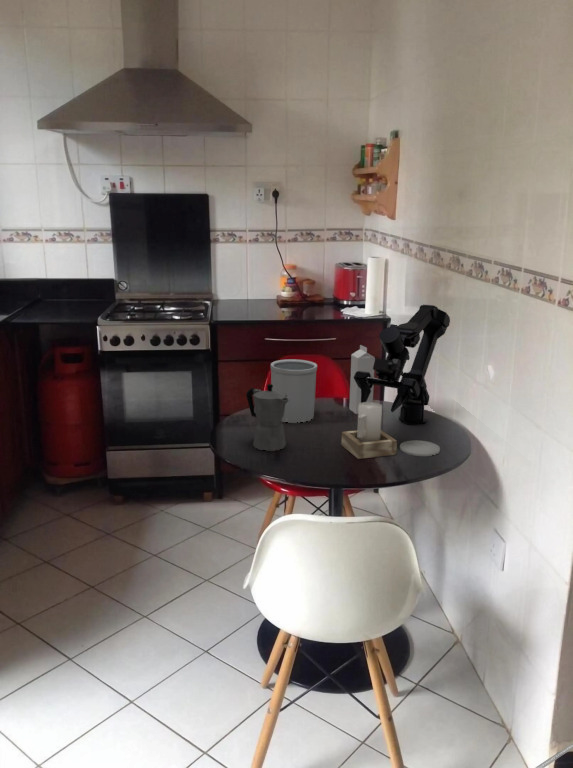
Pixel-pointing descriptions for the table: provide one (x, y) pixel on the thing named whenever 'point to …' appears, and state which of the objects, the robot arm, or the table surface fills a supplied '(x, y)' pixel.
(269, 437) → the coffeepot
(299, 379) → the utensil holder
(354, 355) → the milk
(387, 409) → the table surface
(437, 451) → the mat
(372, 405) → the jug
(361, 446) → the stand
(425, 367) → the robot arm
